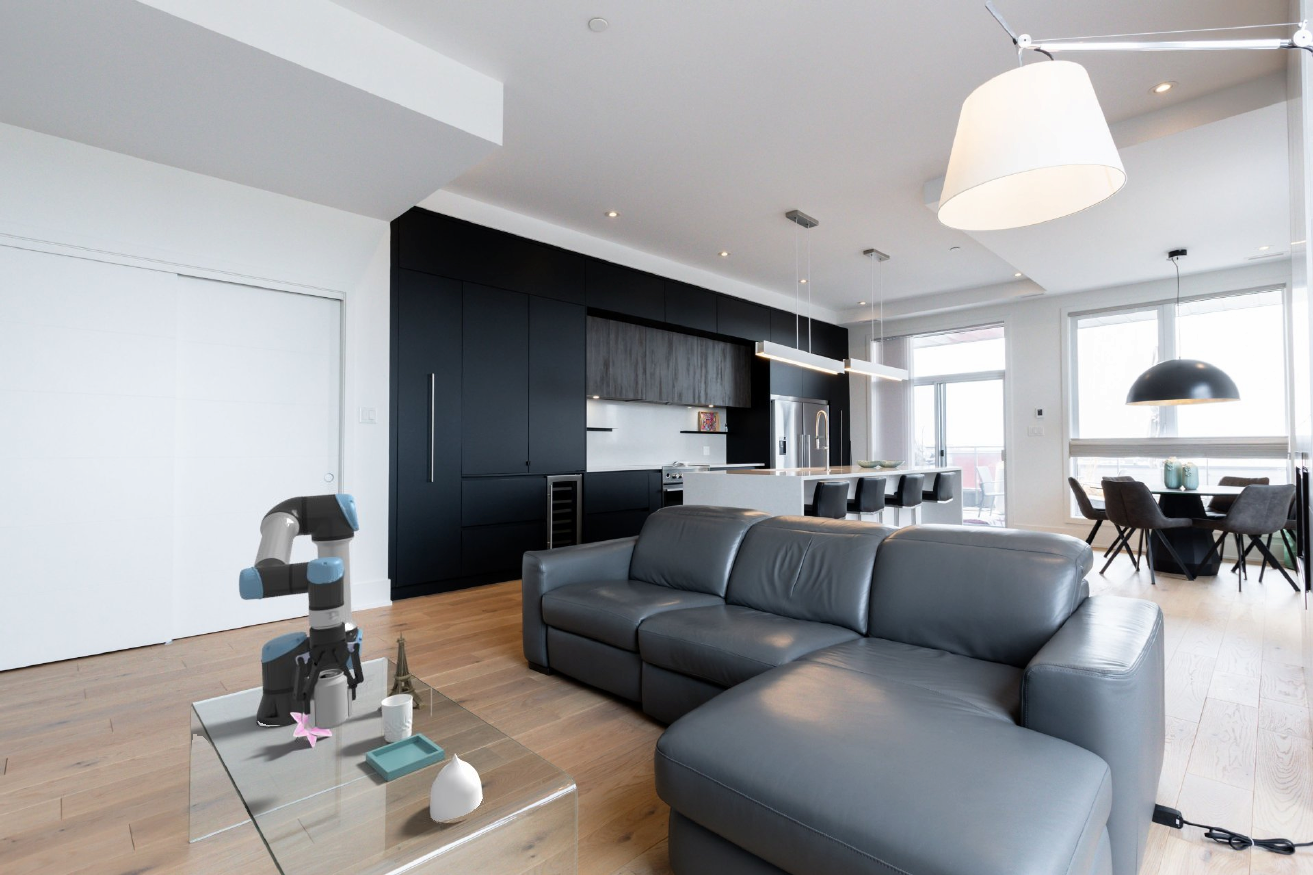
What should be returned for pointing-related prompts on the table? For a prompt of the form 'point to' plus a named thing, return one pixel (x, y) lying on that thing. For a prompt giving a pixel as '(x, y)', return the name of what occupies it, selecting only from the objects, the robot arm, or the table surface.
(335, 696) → the can
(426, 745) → the tray
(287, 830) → the table surface
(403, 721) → the white cup
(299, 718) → the lily
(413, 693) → the eiffel tower
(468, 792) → the teardrop
